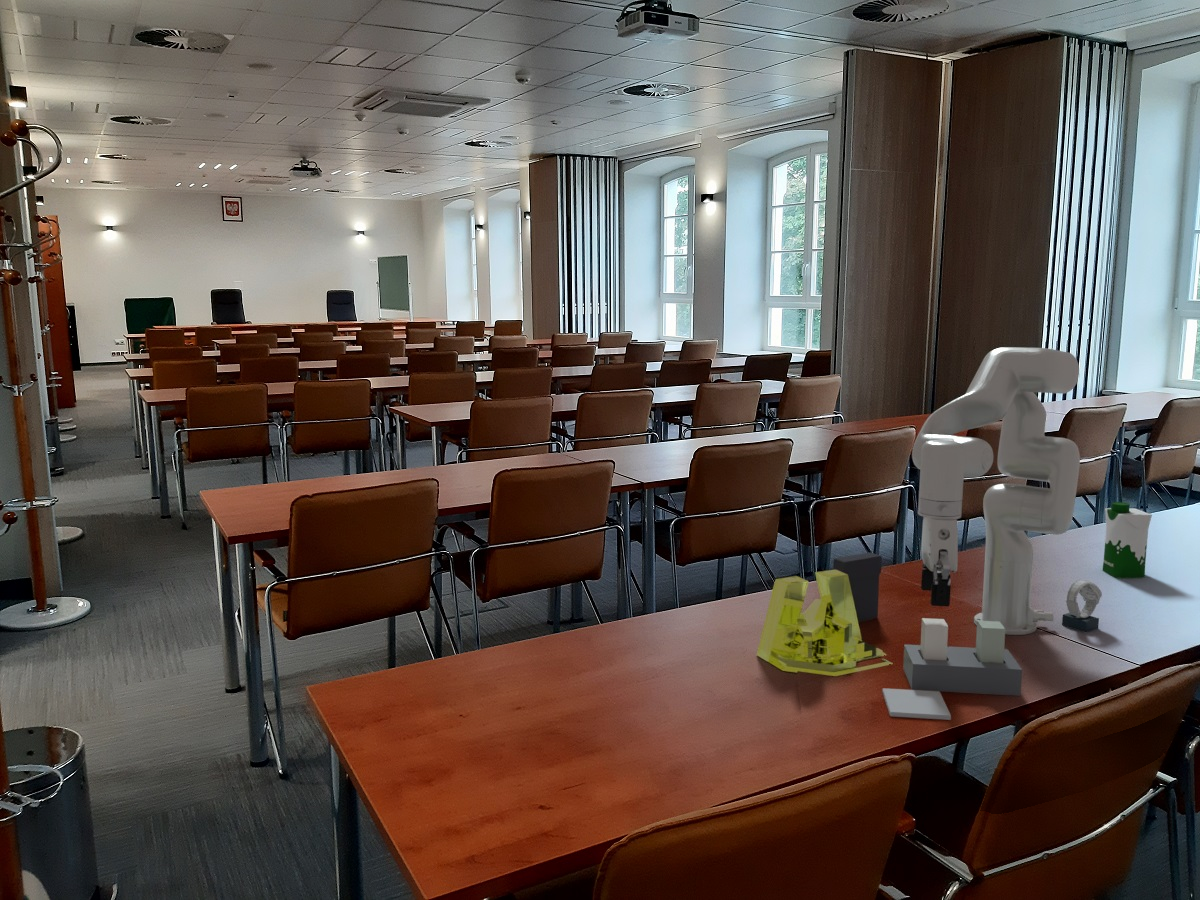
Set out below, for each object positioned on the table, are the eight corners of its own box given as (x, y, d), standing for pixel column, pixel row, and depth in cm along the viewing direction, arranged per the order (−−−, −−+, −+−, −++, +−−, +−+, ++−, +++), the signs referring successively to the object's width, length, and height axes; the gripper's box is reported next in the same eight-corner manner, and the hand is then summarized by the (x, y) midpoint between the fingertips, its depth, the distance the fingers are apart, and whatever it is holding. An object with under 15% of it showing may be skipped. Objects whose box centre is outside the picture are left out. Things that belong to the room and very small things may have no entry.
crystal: (750, 651, 189) (751, 578, 187) (847, 633, 199) (849, 563, 197) (804, 684, 172) (806, 605, 170) (908, 662, 182) (911, 587, 180)
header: (1006, 674, 176) (1007, 649, 175) (1020, 695, 166) (1022, 669, 165) (903, 668, 179) (904, 644, 178) (911, 689, 169) (912, 664, 168)
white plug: (941, 669, 175) (943, 619, 173) (945, 677, 171) (948, 626, 169) (919, 668, 175) (921, 618, 174) (923, 676, 171) (925, 625, 170)
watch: (1103, 630, 198) (1107, 581, 197) (1080, 637, 194) (1083, 587, 193) (1079, 623, 203) (1082, 575, 201) (1056, 629, 199) (1059, 580, 198)
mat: (939, 695, 166) (939, 691, 166) (950, 719, 157) (950, 715, 157) (882, 692, 168) (882, 688, 168) (890, 716, 158) (890, 711, 158)
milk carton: (1096, 574, 239) (1101, 499, 236) (1131, 574, 239) (1137, 499, 236) (1114, 584, 230) (1120, 507, 227) (1150, 584, 230) (1157, 506, 227)
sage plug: (996, 672, 173) (999, 621, 171) (1002, 680, 169) (1005, 628, 168) (974, 670, 174) (977, 620, 172) (979, 679, 170) (982, 627, 168)
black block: (866, 614, 211) (868, 551, 208) (879, 619, 207) (882, 555, 204) (829, 622, 206) (830, 557, 203) (842, 627, 202) (844, 562, 200)
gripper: (972, 518, 159) (966, 613, 161) (951, 499, 176) (946, 585, 178) (927, 516, 160) (922, 610, 162) (910, 498, 177) (906, 583, 179)
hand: (934, 597), depth 170 cm, fingers open, 9 cm apart
